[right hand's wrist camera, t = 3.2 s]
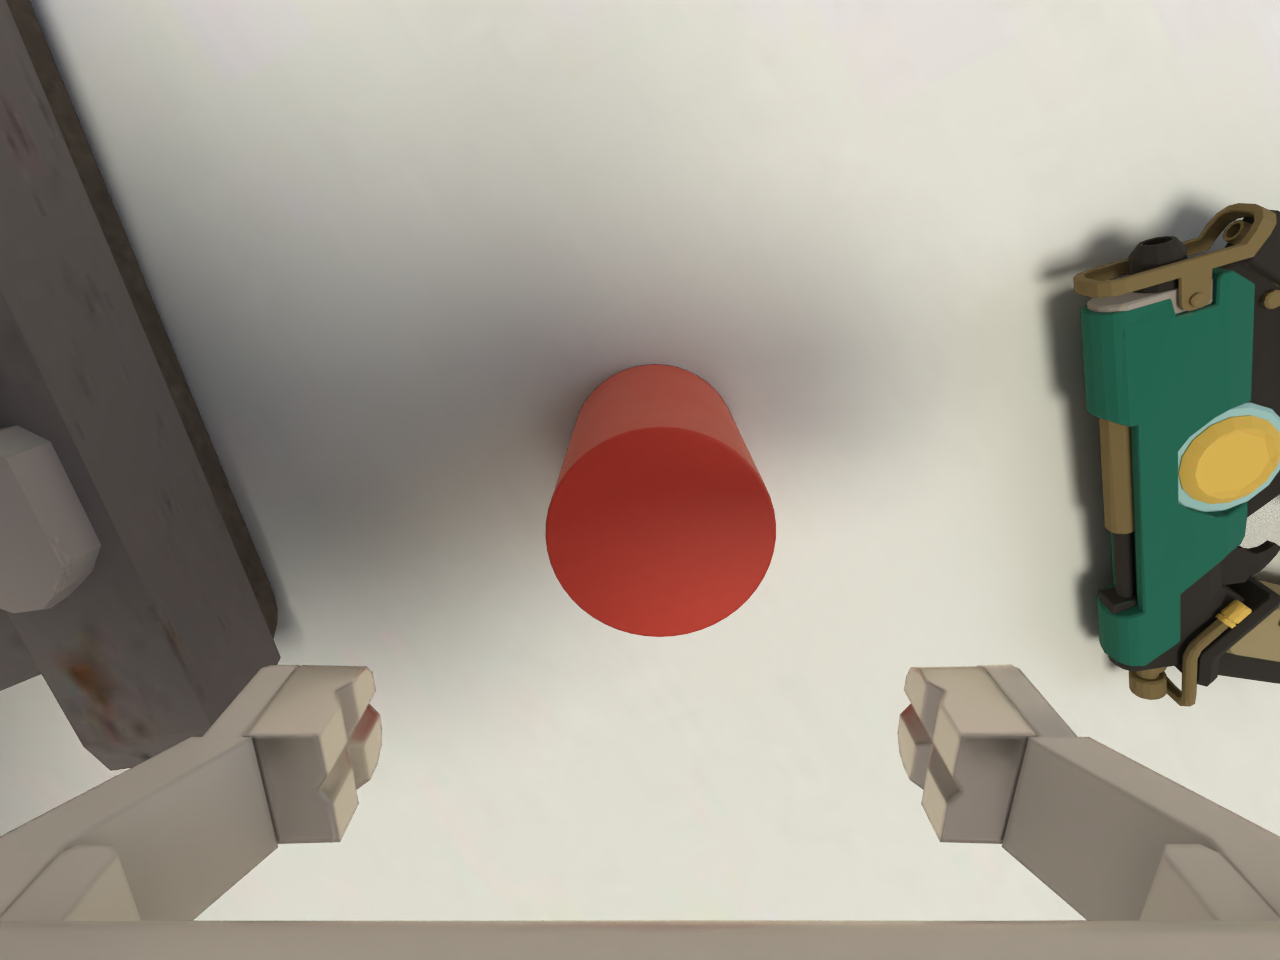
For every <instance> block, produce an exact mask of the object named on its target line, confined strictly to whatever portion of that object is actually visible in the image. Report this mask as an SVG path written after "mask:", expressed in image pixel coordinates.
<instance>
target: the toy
mask: <svg viewBox="0 0 1280 960" xmlns="http://www.w3.org/2000/svg"><path fill="white" fill-rule="evenodd" d="M276 626H277V605H276V601H275V596H274V594H273V591H272V589H271V587H270V584H269V582H268V579H267V577H266V574H265V572H264V570H263V567H262V565H261V562H260V560H259V557H258V555H257V553H256V550H255V548H254V545H253V543H252V540H251V538H250V536H249V533H248V531H247V528H246V526H245V523H244V521H243V519H242V516H241V514H240V511H239V509H238V506H237V504H236V502H235V499H234V497H233V494H232V492H231V489H230V487H229V485H228V482H227V480H226V477H225V475H224V472H223V470H222V468H221V465H220V463H219V460H218V458H217V455H216V453H215V451H214V448H213V446H212V443H211V441H210V438H209V436H208V434H207V431H206V429H205V426H204V424H203V421H202V419H201V417H200V414H199V412H198V409H197V407H196V404H195V402H194V400H193V397H192V395H191V392H190V390H189V387H188V385H187V383H186V380H185V378H184V375H183V373H182V370H181V368H180V366H179V363H178V361H177V358H176V356H175V353H174V351H173V349H172V346H171V344H170V341H169V339H168V336H167V334H166V332H165V329H164V327H163V324H162V322H161V319H160V317H159V315H158V312H157V310H156V307H155V305H154V302H153V300H152V298H151V295H150V293H149V290H148V288H147V285H146V283H145V281H144V278H143V276H142V273H141V271H140V268H139V266H138V264H137V261H136V259H135V256H134V254H133V251H132V249H131V247H130V244H129V242H128V239H127V237H126V234H125V232H124V230H123V227H122V225H121V222H120V220H119V217H118V215H117V213H116V210H115V208H114V205H113V203H112V200H111V198H110V196H109V193H108V191H107V188H106V186H105V183H104V181H103V179H102V176H101V174H100V171H99V169H98V166H97V164H96V162H95V159H94V157H93V154H92V152H91V149H90V147H89V145H88V142H87V140H86V137H85V135H84V132H83V130H82V128H81V125H80V123H79V120H78V118H77V115H76V113H75V110H74V108H73V106H72V103H71V101H70V98H69V96H68V93H67V91H66V89H65V86H64V84H63V81H62V79H61V76H60V74H59V72H58V69H57V67H56V64H55V62H54V59H53V57H52V55H51V52H50V50H49V47H48V45H47V42H46V40H45V38H44V35H43V33H42V30H41V28H40V25H39V23H38V21H37V18H36V16H35V13H34V11H33V8H32V6H31V4H30V1H29V0H0V691H1V690H3V689H6V688H8V687H11V686H13V685H15V684H18V683H20V682H23V681H25V680H28V679H30V678H32V677H35V676H37V675H40V674H42V675H43V677H44V679H45V681H46V682H47V684H48V686H49V688H50V689H51V691H52V693H53V694H54V696H55V698H56V700H57V701H58V703H59V705H60V707H61V708H62V710H63V712H64V714H65V715H66V717H67V719H68V721H69V722H70V724H71V726H72V727H73V729H74V731H75V733H76V734H77V736H78V738H79V740H80V741H81V743H82V745H83V746H84V747H85V748H86V749H87V750H88V751H89V752H90V753H91V754H93V755H94V756H95V757H96V758H97V759H98V760H99V761H101V762H102V763H103V764H104V765H105V766H106V767H107V768H108V769H110V770H119V769H126V768H133V767H135V766H137V765H138V764H140V763H142V762H144V761H146V760H148V759H150V758H152V757H154V756H156V755H158V754H160V753H162V752H163V751H165V750H167V749H169V748H171V747H173V746H175V745H177V744H179V743H181V742H183V741H185V740H187V739H188V738H190V737H203V735H204V734H205V733H206V732H207V731H208V730H209V728H210V727H211V726H212V725H213V724H214V723H215V721H216V720H217V719H218V718H219V717H220V716H221V714H222V713H223V712H224V711H225V710H226V709H227V707H228V706H229V705H230V704H231V703H232V702H233V700H234V699H235V698H236V697H237V696H238V695H239V693H240V692H241V691H242V690H243V689H244V688H245V686H246V685H247V684H248V683H249V682H250V681H251V679H252V678H253V677H254V676H255V675H256V674H257V672H258V671H259V670H260V669H261V668H263V667H266V666H269V665H277V664H278V662H279V660H280V658H281V657H280V655H279V652H278V650H277V648H276V645H275V643H274V640H273V639H274V634H275V630H276Z"/></svg>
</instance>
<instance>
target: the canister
mask: <svg viewBox="0 0 1280 960" xmlns="http://www.w3.org/2000/svg"><path fill="white" fill-rule="evenodd" d="M775 540H776V521H775V514H774V508H773V505H772V502H771V498H770V495H769V493H768V491H767V489H766V487H765V484H764V482H763V480H762V478H761V476H760V474H759V472H758V470H757V468H756V466H755V464H754V461H753V459H752V457H751V455H750V453H749V451H748V449H747V447H746V445H745V443H744V440H743V438H742V436H741V434H740V432H739V430H738V428H737V426H736V424H735V422H734V420H733V417H732V415H731V413H730V411H729V409H728V407H727V405H726V404H725V402H724V400H723V399H722V397H721V396H720V395H719V394H718V393H717V391H716V390H715V389H714V388H713V387H712V386H711V385H709V384H708V383H707V382H706V381H704V380H703V379H702V378H700V377H699V376H697V375H695V374H693V373H691V372H689V371H686V370H684V369H681V368H678V367H673V366H668V365H657V364H654V365H642V366H637V367H633V368H630V369H627V370H624V371H621V372H619V373H617V374H615V375H613V376H612V377H610V378H609V379H607V380H606V381H604V382H603V383H602V384H601V385H599V386H598V387H597V388H596V389H595V390H594V391H593V392H592V394H591V395H590V396H589V397H588V399H587V400H586V402H585V403H584V405H583V406H582V409H581V411H580V413H579V415H578V418H577V421H576V424H575V427H574V430H573V433H572V436H571V440H570V443H569V446H568V449H567V452H566V455H565V458H564V462H563V465H562V468H561V471H560V474H559V477H558V480H557V484H556V487H555V490H554V493H553V496H552V499H551V502H550V505H549V509H548V514H547V520H546V545H547V552H548V555H549V559H550V563H551V566H552V568H553V570H554V573H555V575H556V577H557V579H558V580H559V582H560V584H561V585H562V587H563V589H564V590H565V591H566V592H567V594H568V595H569V596H570V597H571V599H572V600H573V601H574V602H575V603H576V604H577V605H578V606H579V607H581V608H582V609H583V610H584V611H585V612H587V613H588V614H589V615H591V616H592V617H594V618H595V619H597V620H599V621H601V622H602V623H604V624H606V625H608V626H611V627H613V628H615V629H618V630H621V631H624V632H628V633H631V634H637V635H643V636H655V637H664V636H676V635H682V634H688V633H691V632H695V631H698V630H702V629H704V628H706V627H709V626H711V625H714V624H716V623H717V622H719V621H721V620H723V619H724V618H726V617H728V616H729V615H730V614H732V613H733V612H734V611H736V610H737V609H738V608H739V607H740V606H742V605H743V604H744V603H745V602H746V601H747V600H748V599H749V598H750V596H751V595H752V594H753V593H754V591H755V590H756V589H757V587H758V586H759V584H760V583H761V581H762V579H763V578H764V576H765V574H766V572H767V569H768V567H769V565H770V562H771V559H772V555H773V552H774V546H775Z"/></svg>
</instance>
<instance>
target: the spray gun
mask: <svg viewBox="0 0 1280 960" xmlns="http://www.w3.org/2000/svg"><path fill="white" fill-rule="evenodd" d="M1242 217H1244V218H1243V220H1237V221H1234V220H1236V219H1238V218H1242ZM1233 221H1234V222H1233ZM1231 222H1233V223H1231ZM1230 223H1231V224H1230ZM1229 224H1230V225H1229ZM1228 225H1229V226H1228ZM1227 226H1228V227H1227ZM1226 227H1227V228H1226ZM1225 228H1226V229H1225ZM1224 229H1225V232H1224V234H1223V240H1225V241H1227V242H1228V243H1227V245H1226V246H1225V248H1223V249H1220V250H1216V251H1213V252H1209V253H1206V254H1202V255H1199V256H1195V257H1192V258H1189V259H1187V256H1190V255H1193V254H1197V253H1200V252H1204V251H1207V250H1209V248H1210V247H1211V245H1212V244H1213V243H1214V241H1215V240H1216V239H1217V237H1218V236H1219V235H1220V233H1221V232H1222V231H1223V230H1224ZM1125 274H1129V276H1126V277H1123V278H1119V279H1113V280H1109V279H1112V278H1115V277H1119V276H1122V275H1125ZM1074 291H1075V292H1076V293H1077V294H1081V295H1084V296H1087V297H1092V299H1090V300H1089V301H1088V302H1087V305H1086V306H1084V307H1083V308H1082V309H1081V310H1080V316H1081V331H1082V347H1083V362H1084V378H1085V393H1086V409H1087V411H1088V412H1089V413H1090V414H1091V415H1094V416H1096V417H1099V429H1100V447H1101V465H1102V483H1103V501H1104V519H1105V528H1106V529H1107V530H1108V531H1110V532H1111V550H1112V568H1113V585H1112V586H1109V587H1107V588H1106V589H1103V590H1099V595H1098V597H1097V609H1098V624H1099V640H1100V644H1101V647H1102V648H1103V650H1104V652H1105V653H1106V654H1108V656H1109V658H1110V660H1111V661H1112V662H1113V663H1114V664H1116V665H1117V666H1119V667H1121V668H1123V669H1125V670H1129V688H1130V690H1131V691H1132V692H1133V693H1134V694H1135V695H1136V696H1138V697H1140V698H1144V699H1149V700H1152V699H1160V698H1162V697H1164V696H1165V695H1166V693H1167V694H1168V695H1169V696H1170V697H1171V698H1172V699H1173V700H1174V701H1176V702H1177V703H1178V704H1179V705H1180V706H1191V705H1193V704H1195V699H1196V690H1197V684H1199V685H1203V686H1208V685H1209V684H1210V683H1212V682H1213V681H1214V680H1215V679H1216V678H1217V675H1222V676H1229V677H1236V678H1244V679H1251V680H1258V681H1265V682H1272V683H1279V684H1280V585H1278V584H1274V583H1269V582H1265V581H1261V580H1257V579H1255V578H1254V577H1253V576H1252V575H1254V574H1255V573H1257V572H1259V571H1261V570H1262V569H1263V568H1264V567H1265V566H1266V565H1267V564H1268V563H1269V562H1270V561H1271V560H1272V559H1273V558H1274V557H1275V556H1276V555H1277V553H1278V552H1279V550H1280V546H1278V545H1277V544H1275V543H1273V542H1270V541H1268V540H1267V541H1266V542H1264V543H1263V544H1261V545H1260V546H1258V547H1254V548H1250V549H1247V548H1242V547H1241V546H1239V545H1240V544H1241V542H1242V540H1243V538H1244V536H1245V530H1246V521H1247V517H1248V516H1250V515H1251V514H1253V513H1254V512H1255V511H1257V510H1258V509H1260V508H1261V507H1262V506H1264V505H1265V504H1267V503H1268V502H1269V501H1271V500H1272V499H1273V498H1275V497H1276V496H1278V495H1279V494H1280V212H1279V211H1275V210H1268V209H1266V208H1263V207H1261V206H1259V205H1257V204H1242V203H1238V204H1234V205H1230V206H1227V207H1226V208H1224V209H1223V210H1221V211H1220V212H1218V213H1217V214H1216V215H1215V216H1214V217H1213V218H1212V219H1211V221H1210V222H1209V223H1208V224H1207V225H1206V227H1205V228H1204V230H1203V231H1202V233H1201V234H1200V236H1199V237H1198V238H1196V239H1192V240H1189V241H1185V242H1181V241H1180V240H1178V239H1177V238H1176V237H1174V236H1165V237H1158V238H1153V239H1149V240H1145V241H1143V242H1140V243H1139V244H1138V245H1137V247H1136V248H1135V249H1134V251H1133V252H1132V253H1131V255H1130V256H1129V257H1128V259H1124V260H1121V261H1118V262H1114V263H1111V264H1107V265H1104V266H1101V267H1097V268H1094V269H1090V270H1087V271H1084V272H1082V273H1079V274H1077V275H1076V276H1075V277H1074ZM1168 666H1175V667H1176V668H1177V669H1178V670H1179V671H1180V672H1182V691H1181V690H1179V689H1178V688H1177V687H1176V686H1175V685H1174V684H1173V683H1172V682H1171V680H1170V679H1169V678H1168V677H1167V676H1166V674H1165V672H1164V670H1165V669H1166V667H1168Z"/></svg>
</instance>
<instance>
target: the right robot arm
mask: <svg viewBox="0 0 1280 960" xmlns="http://www.w3.org/2000/svg"><path fill="white" fill-rule="evenodd" d="M375 691H376V687H375V682H374V677H373V672H372V671H371V670H370V669H369V668H368V667H366V666H320V665H302V666H299V665H269V666H266V667H263V668H261V669H260V670H259V671H258V672H257V674H256V675H255V676H254V677H253V678H252V679H251V681H250V682H249V683H248V684H247V685H246V686H245V688H244V689H243V690H242V691H241V692H240V693H239V695H238V696H237V697H236V698H235V699H234V700H233V702H232V703H231V704H230V705H229V706H228V707H227V709H226V710H225V711H224V712H223V713H222V714H221V716H220V717H219V718H218V719H217V720H216V721H215V723H214V724H213V725H212V726H211V727H210V728H209V730H208V731H207V732H206V733H205V734H204V735H203V737H190V738H188V739H187V740H185V741H183V742H181V743H179V744H177V745H175V746H173V747H171V748H169V749H167V750H165V751H163V752H162V753H160V754H158V755H156V756H154V757H152V758H150V759H148V760H146V761H144V762H142V763H140V764H138V765H137V766H135V767H133V768H131V769H129V770H127V771H125V772H123V773H121V774H119V775H117V776H115V777H114V778H112V779H110V780H108V781H106V782H104V783H102V784H100V785H98V786H96V787H94V788H92V789H90V790H89V791H87V792H85V793H83V794H81V795H79V796H77V797H75V798H73V799H71V800H69V801H67V802H65V803H64V804H62V805H60V806H58V807H56V808H54V809H52V810H50V811H48V812H46V813H44V814H42V815H40V816H39V817H37V818H35V819H33V820H31V821H29V822H27V823H25V824H23V825H21V826H19V827H17V828H16V829H14V830H12V831H10V832H8V833H6V834H4V835H2V836H0V960H1280V837H1279V836H1277V835H1275V834H1274V833H1272V832H1270V831H1268V830H1266V829H1264V828H1262V827H1260V826H1258V825H1256V824H1254V823H1252V822H1251V821H1249V820H1247V819H1245V818H1243V817H1241V816H1239V815H1237V814H1235V813H1233V812H1231V811H1230V810H1228V809H1226V808H1224V807H1222V806H1220V805H1218V804H1216V803H1214V802H1212V801H1210V800H1208V799H1207V798H1205V797H1203V796H1201V795H1199V794H1197V793H1195V792H1193V791H1191V790H1189V789H1187V788H1185V787H1184V786H1182V785H1180V784H1178V783H1176V782H1174V781H1172V780H1170V779H1168V778H1166V777H1164V776H1162V775H1161V774H1159V773H1157V772H1155V771H1153V770H1151V769H1149V768H1147V767H1145V766H1143V765H1141V764H1139V763H1138V762H1136V761H1134V760H1132V759H1130V758H1128V757H1126V756H1124V755H1122V754H1120V753H1118V752H1116V751H1115V750H1113V749H1111V748H1109V747H1107V746H1105V745H1103V744H1101V743H1099V742H1097V741H1095V740H1093V739H1092V738H1090V737H1077V735H1076V734H1075V733H1074V732H1073V731H1072V730H1071V728H1070V727H1069V726H1068V725H1067V724H1066V723H1065V721H1064V720H1063V719H1062V718H1061V717H1060V716H1059V714H1058V713H1057V712H1056V711H1055V710H1054V709H1053V707H1052V706H1051V705H1050V704H1049V703H1048V702H1047V700H1046V699H1045V698H1044V697H1043V696H1042V695H1041V693H1040V692H1039V691H1038V690H1037V689H1036V688H1035V686H1034V685H1033V684H1032V683H1031V682H1030V681H1029V679H1028V678H1027V677H1026V676H1025V675H1024V674H1023V672H1022V671H1021V670H1020V669H1019V668H1017V667H1015V666H1013V665H982V666H977V667H911V668H910V670H909V672H908V674H907V676H906V681H905V687H904V691H905V693H906V695H907V697H908V698H909V700H910V702H911V704H910V705H909V706H908V707H907V708H906V709H905V710H904V711H903V712H902V713H901V714H900V719H899V727H898V742H899V752H900V756H901V759H902V763H903V766H904V768H905V771H906V773H907V775H908V777H909V779H910V780H911V781H912V782H914V783H915V784H916V785H918V786H919V787H921V788H922V789H923V790H924V791H923V797H922V803H921V804H922V806H923V808H924V810H925V812H926V814H927V816H928V818H929V820H930V822H931V824H932V826H933V829H934V831H935V833H936V835H937V837H938V839H939V841H940V842H957V843H993V844H1002V847H1003V848H1004V849H1005V850H1006V851H1007V852H1009V853H1010V854H1011V855H1012V856H1013V857H1014V858H1016V859H1017V860H1018V861H1019V862H1020V863H1021V864H1023V865H1024V866H1025V867H1026V868H1027V869H1028V870H1029V871H1031V872H1032V873H1033V874H1034V875H1035V876H1036V877H1038V878H1039V879H1040V880H1041V881H1042V882H1043V883H1045V884H1046V885H1047V886H1048V887H1049V888H1050V889H1052V890H1053V891H1054V892H1055V893H1056V894H1057V895H1058V896H1060V897H1061V898H1062V899H1063V900H1064V901H1065V902H1067V903H1068V904H1069V905H1070V906H1071V907H1072V908H1074V909H1075V910H1076V911H1077V912H1078V913H1079V914H1081V915H1082V916H1083V917H1084V918H1085V919H1086V920H1087V921H193V920H194V919H195V918H196V917H197V916H199V915H200V914H201V913H202V912H203V911H204V910H205V909H207V908H208V907H209V906H210V905H211V904H212V903H214V902H215V901H216V900H217V899H218V898H219V897H221V896H222V895H223V894H224V893H225V892H226V891H228V890H229V889H230V888H231V887H232V886H233V885H235V884H236V883H237V882H238V881H239V880H240V879H242V878H243V877H244V876H245V875H246V874H247V873H249V872H250V871H251V870H252V869H253V868H254V867H255V866H257V865H258V864H259V863H260V862H261V861H262V860H264V859H265V858H266V857H267V856H268V855H269V854H271V853H272V852H273V851H274V850H275V849H276V848H278V844H287V843H321V842H340V841H341V839H342V837H343V835H344V833H345V831H346V829H347V827H348V825H349V822H350V820H351V818H352V816H353V814H354V812H355V810H356V808H357V806H358V804H359V803H358V797H357V791H356V790H357V789H358V788H359V787H361V786H362V785H364V784H365V783H366V782H368V781H369V780H370V779H371V777H372V775H373V773H374V770H375V768H376V766H377V764H378V759H379V755H380V750H381V745H382V725H381V718H380V714H379V713H378V712H377V711H376V710H375V709H374V708H373V707H372V706H371V705H370V704H369V702H370V700H371V698H372V697H373V695H374V693H375Z"/></svg>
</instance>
